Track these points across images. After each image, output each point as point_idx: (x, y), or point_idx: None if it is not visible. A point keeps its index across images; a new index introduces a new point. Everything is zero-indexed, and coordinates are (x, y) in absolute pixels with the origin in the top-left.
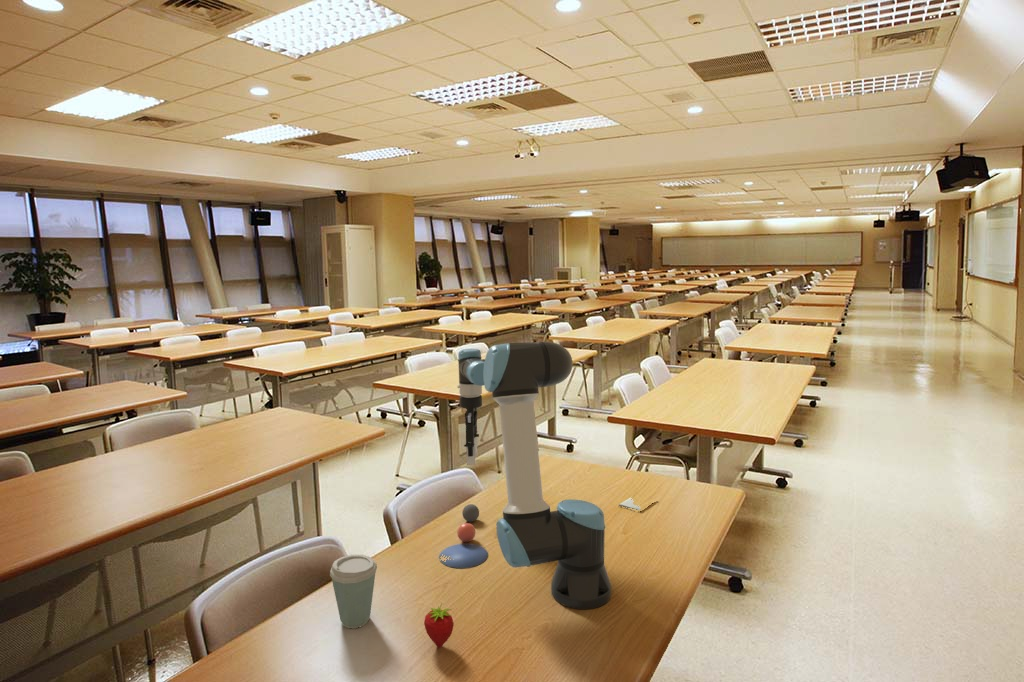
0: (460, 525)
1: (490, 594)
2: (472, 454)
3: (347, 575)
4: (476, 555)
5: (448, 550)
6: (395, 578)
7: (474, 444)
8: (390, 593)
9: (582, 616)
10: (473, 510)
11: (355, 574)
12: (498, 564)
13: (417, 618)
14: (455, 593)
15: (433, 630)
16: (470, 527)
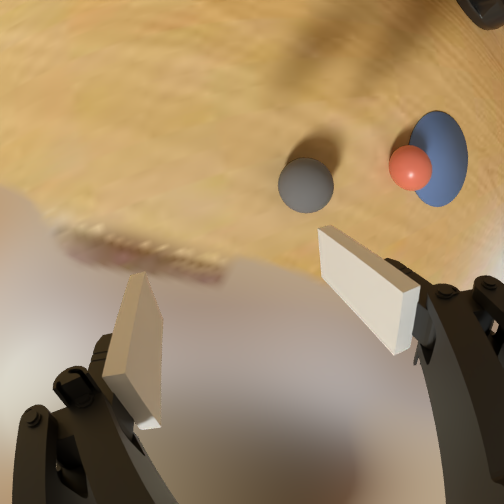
0: (418, 186)
1: (498, 107)
2: (401, 263)
3: None
4: (441, 133)
5: (430, 193)
6: (476, 247)
7: (141, 345)
8: (494, 237)
9: None
10: (329, 173)
11: None
12: (453, 91)
13: None
14: (500, 154)
15: None
16: (428, 158)
